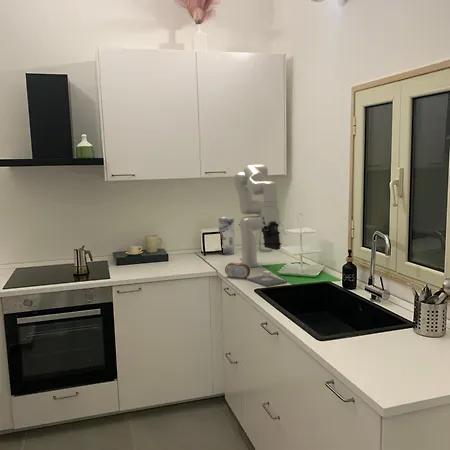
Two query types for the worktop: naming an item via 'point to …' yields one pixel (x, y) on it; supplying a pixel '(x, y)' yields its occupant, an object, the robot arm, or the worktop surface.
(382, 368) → the worktop surface
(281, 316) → the worktop surface
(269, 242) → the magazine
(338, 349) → the worktop surface
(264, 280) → the mat
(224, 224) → the juice carton
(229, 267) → the tin
